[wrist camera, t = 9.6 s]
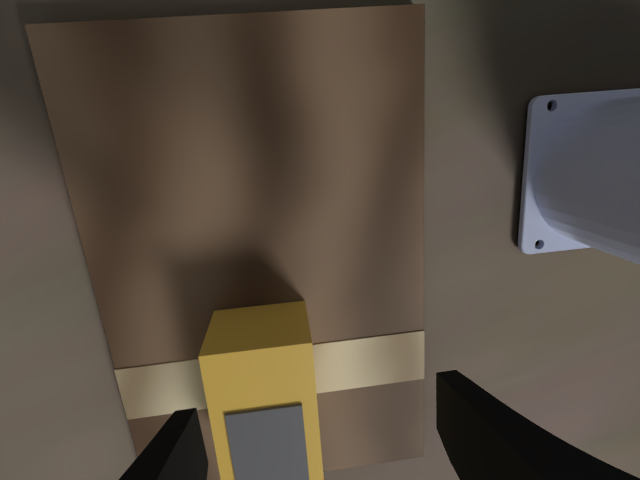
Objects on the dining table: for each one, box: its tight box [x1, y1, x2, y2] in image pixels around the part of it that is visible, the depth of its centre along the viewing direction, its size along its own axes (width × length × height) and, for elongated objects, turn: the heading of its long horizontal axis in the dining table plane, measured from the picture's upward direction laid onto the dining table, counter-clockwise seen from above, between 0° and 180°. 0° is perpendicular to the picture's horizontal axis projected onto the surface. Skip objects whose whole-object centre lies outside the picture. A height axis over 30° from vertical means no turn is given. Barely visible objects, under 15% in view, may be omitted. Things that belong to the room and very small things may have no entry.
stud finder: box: [198, 301, 324, 480], centre depth 18 cm, size 4×8×4 cm, turn 4°
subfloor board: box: [24, 4, 425, 480], centre depth 19 cm, size 16×24×1 cm, turn 4°
